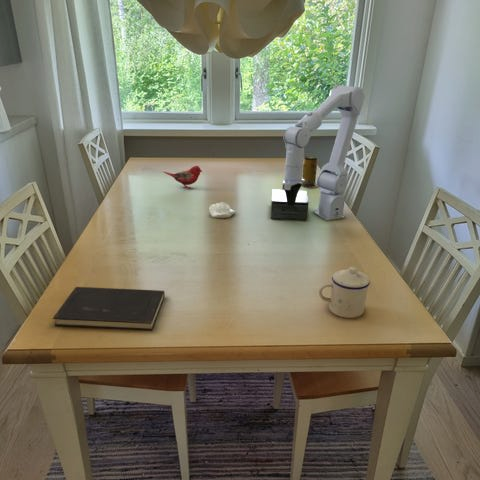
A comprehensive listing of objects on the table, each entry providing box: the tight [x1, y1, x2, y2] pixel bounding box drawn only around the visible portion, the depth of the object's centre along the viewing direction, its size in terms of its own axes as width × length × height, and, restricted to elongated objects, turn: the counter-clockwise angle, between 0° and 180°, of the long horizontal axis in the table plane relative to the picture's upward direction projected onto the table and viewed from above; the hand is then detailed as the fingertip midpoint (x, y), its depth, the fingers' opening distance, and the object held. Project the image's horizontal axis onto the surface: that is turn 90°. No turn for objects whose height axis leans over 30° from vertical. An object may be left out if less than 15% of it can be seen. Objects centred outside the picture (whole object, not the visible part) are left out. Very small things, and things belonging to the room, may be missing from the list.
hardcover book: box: [52, 286, 166, 332], centre depth 118 cm, size 16×23×2 cm
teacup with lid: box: [318, 266, 371, 319], centre depth 119 cm, size 12×9×12 cm
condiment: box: [300, 155, 319, 189], centre depth 211 cm, size 7×8×12 cm
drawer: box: [273, 203, 307, 219], centre depth 177 cm, size 17×12×5 cm
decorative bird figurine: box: [163, 165, 203, 190], centre depth 204 cm, size 3×18×10 cm, turn 75°
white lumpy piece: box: [208, 201, 236, 219], centre depth 178 cm, size 10×4×10 cm
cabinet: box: [270, 189, 309, 221], centre depth 180 cm, size 14×13×7 cm
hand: (290, 205), depth 166 cm, fingers closed
